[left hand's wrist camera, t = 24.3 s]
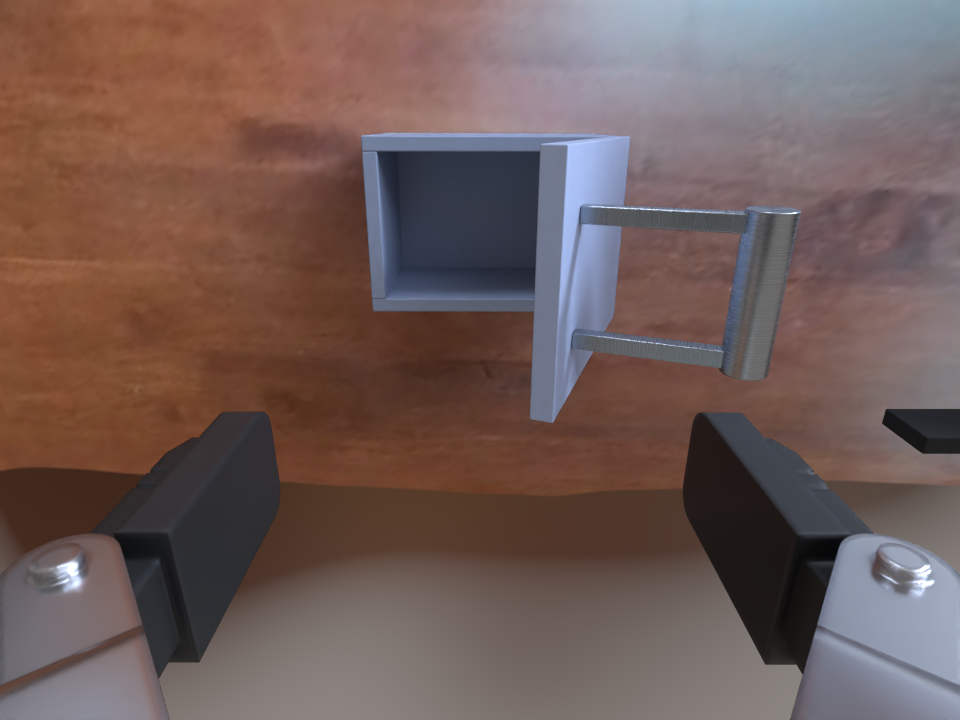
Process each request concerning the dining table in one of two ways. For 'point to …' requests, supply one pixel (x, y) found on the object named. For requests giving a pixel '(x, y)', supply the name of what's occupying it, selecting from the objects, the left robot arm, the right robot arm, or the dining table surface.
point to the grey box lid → (594, 268)
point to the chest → (453, 219)
